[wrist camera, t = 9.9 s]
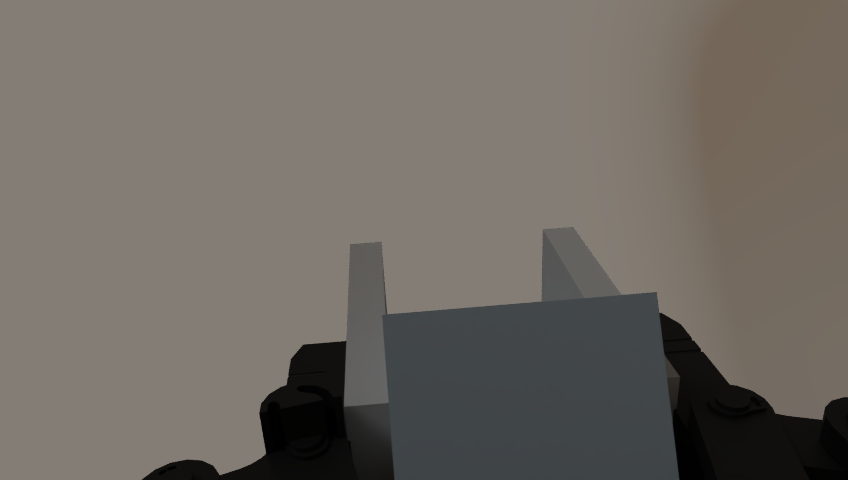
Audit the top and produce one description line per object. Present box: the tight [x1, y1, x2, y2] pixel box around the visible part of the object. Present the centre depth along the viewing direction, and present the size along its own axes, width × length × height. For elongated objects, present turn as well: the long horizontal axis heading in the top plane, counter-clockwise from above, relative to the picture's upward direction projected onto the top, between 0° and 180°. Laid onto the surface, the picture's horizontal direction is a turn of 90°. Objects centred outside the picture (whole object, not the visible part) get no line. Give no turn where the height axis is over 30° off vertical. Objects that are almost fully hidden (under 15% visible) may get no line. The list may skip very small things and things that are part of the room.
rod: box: [382, 292, 679, 480], centre depth 22 cm, size 4×24×4 cm, turn 3°
